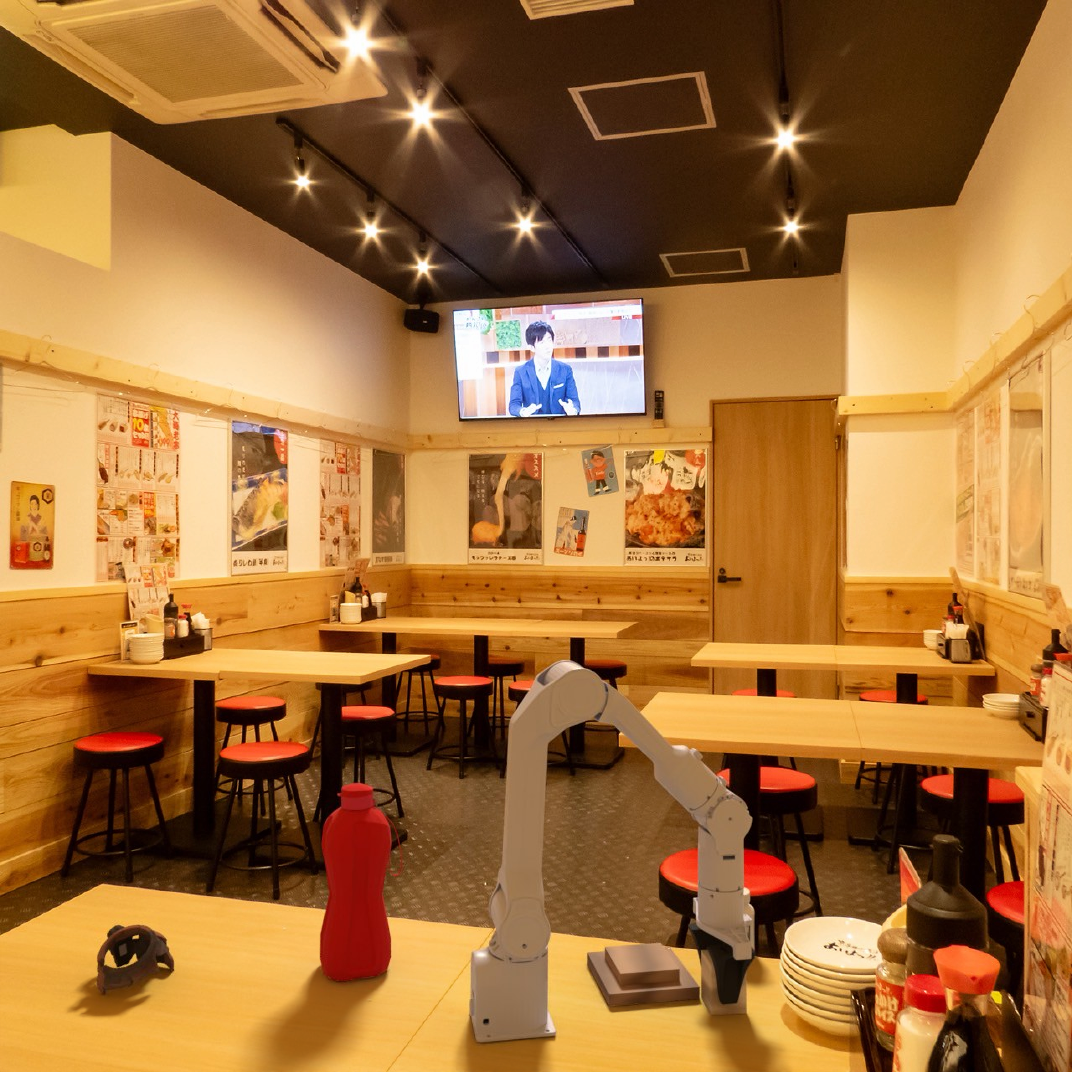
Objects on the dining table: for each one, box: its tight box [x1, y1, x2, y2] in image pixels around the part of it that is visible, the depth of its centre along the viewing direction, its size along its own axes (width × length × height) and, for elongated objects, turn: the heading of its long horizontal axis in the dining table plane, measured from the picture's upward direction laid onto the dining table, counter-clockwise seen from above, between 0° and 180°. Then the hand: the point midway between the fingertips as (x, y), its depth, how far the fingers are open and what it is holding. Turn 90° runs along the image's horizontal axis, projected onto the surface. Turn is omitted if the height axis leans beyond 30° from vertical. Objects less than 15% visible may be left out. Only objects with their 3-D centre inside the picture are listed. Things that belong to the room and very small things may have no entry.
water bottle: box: [319, 782, 403, 983], centre depth 122 cm, size 9×11×25 cm
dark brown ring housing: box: [96, 924, 175, 996], centre depth 118 cm, size 12×10×8 cm
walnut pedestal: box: [586, 942, 701, 1007], centre depth 118 cm, size 12×12×3 cm
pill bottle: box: [744, 886, 756, 951], centre depth 127 cm, size 5×5×9 cm
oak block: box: [700, 950, 748, 1016], centre depth 112 cm, size 4×4×6 cm
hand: (720, 992), depth 112 cm, fingers closed on oak block, 5 cm apart
